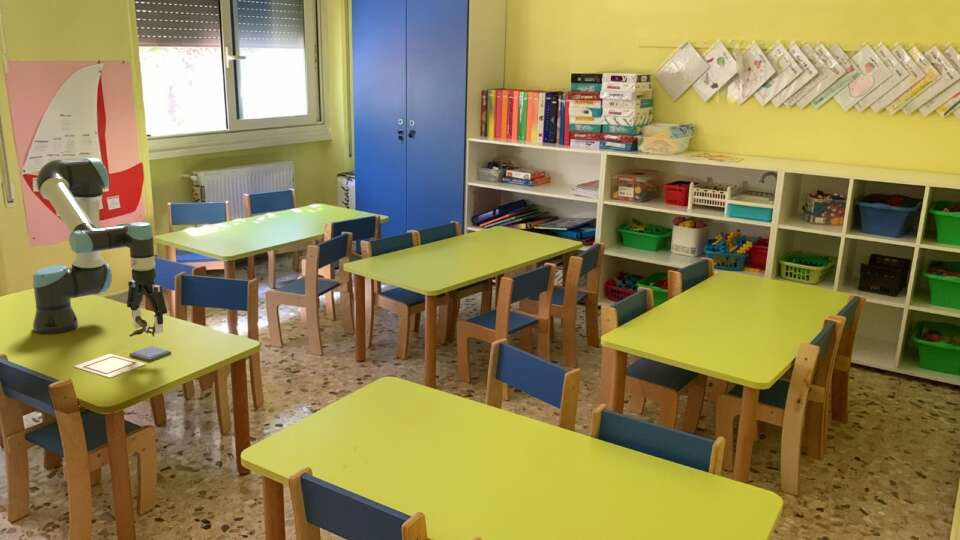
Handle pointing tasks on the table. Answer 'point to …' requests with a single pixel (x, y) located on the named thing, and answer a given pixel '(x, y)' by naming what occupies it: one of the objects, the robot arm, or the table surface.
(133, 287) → the robot arm
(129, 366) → the print sheet
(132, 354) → the ink pad
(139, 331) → the eagle figurine
